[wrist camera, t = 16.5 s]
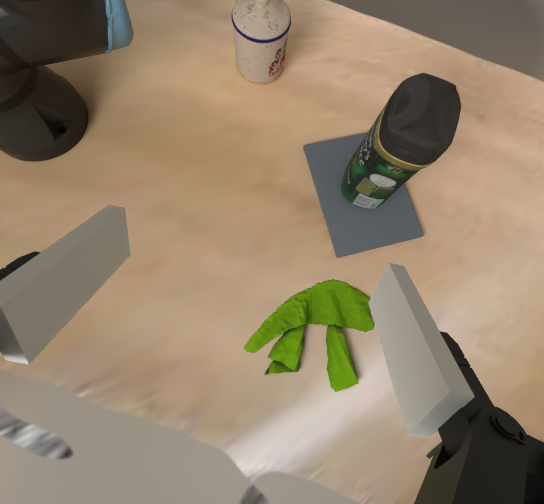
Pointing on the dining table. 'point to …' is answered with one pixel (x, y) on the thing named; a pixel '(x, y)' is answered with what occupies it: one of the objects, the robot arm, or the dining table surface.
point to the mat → (349, 217)
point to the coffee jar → (402, 139)
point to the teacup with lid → (260, 38)
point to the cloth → (316, 310)
